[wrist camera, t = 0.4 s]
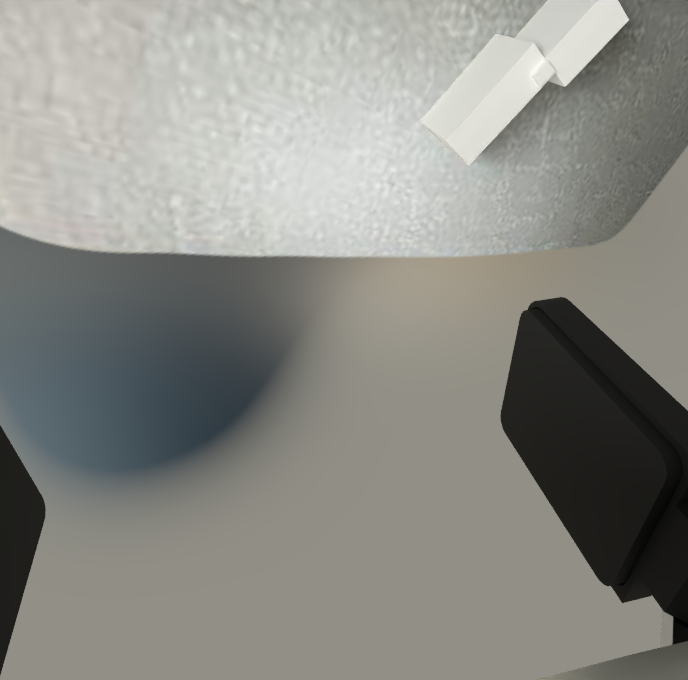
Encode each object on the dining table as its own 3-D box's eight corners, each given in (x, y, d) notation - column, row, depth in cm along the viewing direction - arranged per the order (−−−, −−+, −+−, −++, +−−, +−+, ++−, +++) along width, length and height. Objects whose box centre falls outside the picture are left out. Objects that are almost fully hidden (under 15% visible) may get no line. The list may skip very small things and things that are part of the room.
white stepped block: (403, 176, 38) (430, 205, 33) (387, -10, 31) (418, -5, 27) (595, 130, 39) (647, 153, 35) (620, -58, 32) (689, -61, 28)
